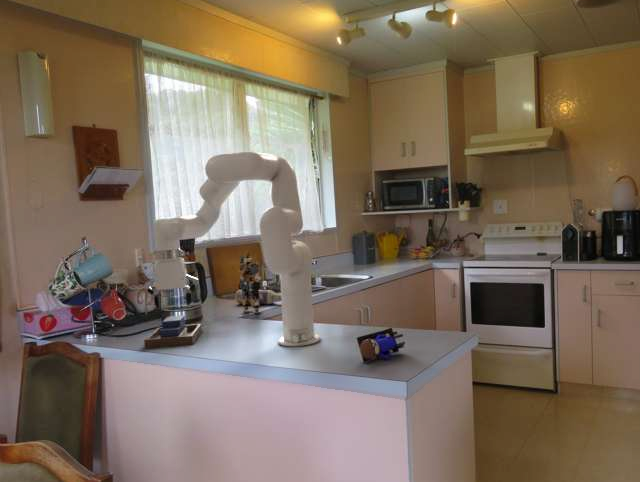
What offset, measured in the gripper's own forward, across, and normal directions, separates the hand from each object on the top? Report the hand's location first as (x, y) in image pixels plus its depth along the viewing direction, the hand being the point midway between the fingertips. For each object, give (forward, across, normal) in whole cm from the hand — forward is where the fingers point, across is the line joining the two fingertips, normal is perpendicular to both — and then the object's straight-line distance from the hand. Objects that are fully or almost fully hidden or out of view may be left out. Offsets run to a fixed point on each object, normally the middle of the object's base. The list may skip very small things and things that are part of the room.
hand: (174, 306), depth 181 cm
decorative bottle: (+11, -25, -60) cm, 66 cm away
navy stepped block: (+11, +1, +1) cm, 11 cm away
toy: (+12, -23, -38) cm, 46 cm away
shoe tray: (+11, +1, 0) cm, 11 cm away
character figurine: (+13, -61, +48) cm, 79 cm away
